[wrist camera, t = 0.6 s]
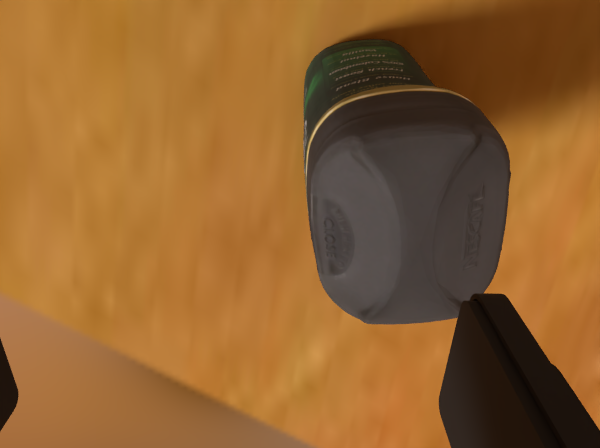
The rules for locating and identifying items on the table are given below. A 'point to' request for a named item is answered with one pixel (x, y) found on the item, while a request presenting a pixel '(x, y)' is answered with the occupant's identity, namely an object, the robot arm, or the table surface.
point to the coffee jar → (399, 186)
